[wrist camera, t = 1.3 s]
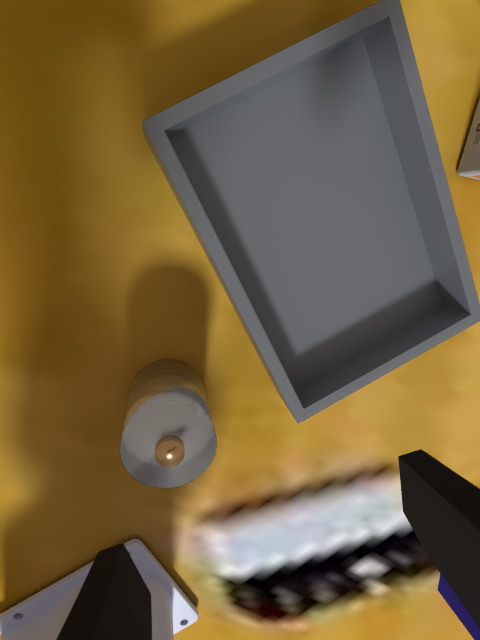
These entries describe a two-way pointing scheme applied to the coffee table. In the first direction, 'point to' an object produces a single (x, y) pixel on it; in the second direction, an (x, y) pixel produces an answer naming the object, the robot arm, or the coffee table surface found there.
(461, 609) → the cable clip
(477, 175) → the skincare box
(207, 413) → the cell
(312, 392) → the grey tray
